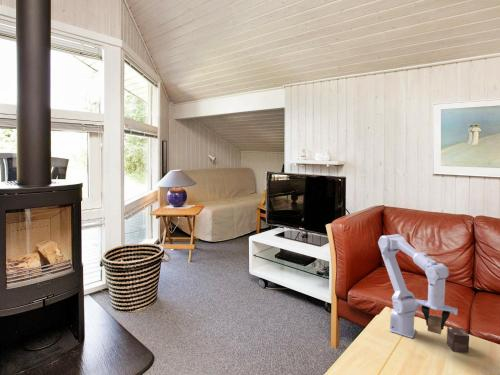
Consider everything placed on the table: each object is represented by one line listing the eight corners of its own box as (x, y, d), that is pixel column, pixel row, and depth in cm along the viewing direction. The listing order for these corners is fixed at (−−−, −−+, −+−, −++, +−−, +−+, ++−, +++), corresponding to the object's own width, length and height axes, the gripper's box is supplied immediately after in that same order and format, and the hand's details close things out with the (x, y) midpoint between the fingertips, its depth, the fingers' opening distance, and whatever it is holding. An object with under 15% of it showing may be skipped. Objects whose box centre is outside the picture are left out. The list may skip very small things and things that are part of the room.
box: (468, 353, 126) (469, 336, 125) (452, 351, 127) (453, 334, 127) (461, 344, 132) (462, 328, 131) (446, 342, 133) (447, 326, 133)
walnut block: (427, 330, 127) (428, 318, 126) (429, 326, 130) (429, 314, 130) (440, 334, 124) (441, 322, 123) (442, 329, 127) (442, 317, 127)
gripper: (414, 292, 127) (413, 325, 128) (456, 302, 118) (455, 336, 119) (417, 287, 133) (416, 318, 134) (458, 295, 124) (457, 328, 125)
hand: (434, 326), depth 127 cm, fingers closed on walnut block, 4 cm apart
